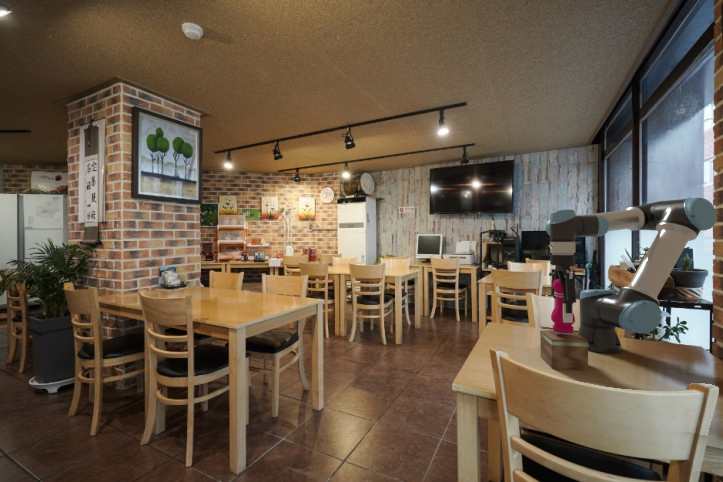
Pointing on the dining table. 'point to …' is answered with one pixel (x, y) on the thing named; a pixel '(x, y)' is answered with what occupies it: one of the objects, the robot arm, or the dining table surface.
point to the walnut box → (564, 350)
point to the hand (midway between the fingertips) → (562, 319)
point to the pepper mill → (560, 311)
